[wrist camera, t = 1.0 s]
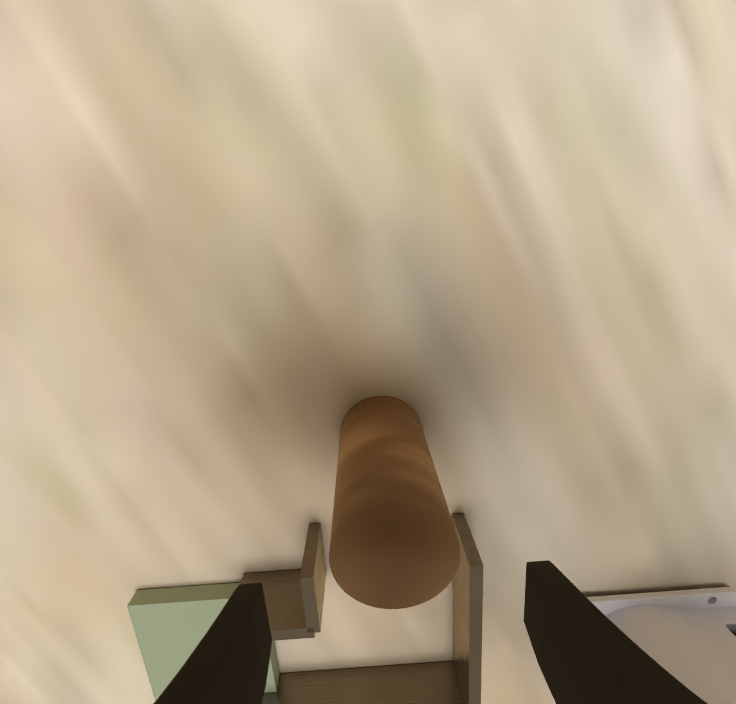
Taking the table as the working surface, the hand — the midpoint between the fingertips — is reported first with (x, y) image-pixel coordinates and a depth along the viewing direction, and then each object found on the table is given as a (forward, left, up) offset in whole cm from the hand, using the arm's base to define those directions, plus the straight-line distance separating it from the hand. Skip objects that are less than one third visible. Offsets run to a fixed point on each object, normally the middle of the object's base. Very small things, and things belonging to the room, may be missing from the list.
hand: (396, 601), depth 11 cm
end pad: (+10, +12, -9) cm, 18 cm away
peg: (0, 0, -9) cm, 9 cm away
